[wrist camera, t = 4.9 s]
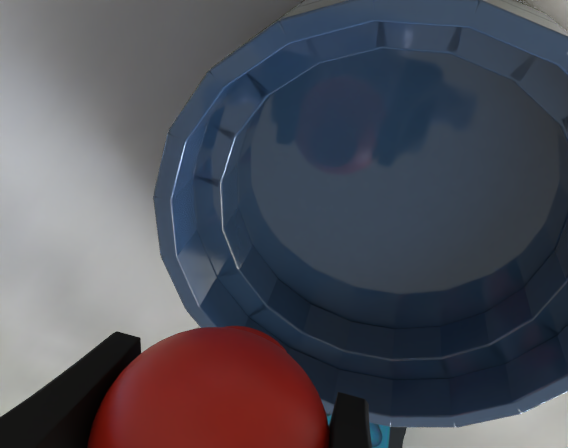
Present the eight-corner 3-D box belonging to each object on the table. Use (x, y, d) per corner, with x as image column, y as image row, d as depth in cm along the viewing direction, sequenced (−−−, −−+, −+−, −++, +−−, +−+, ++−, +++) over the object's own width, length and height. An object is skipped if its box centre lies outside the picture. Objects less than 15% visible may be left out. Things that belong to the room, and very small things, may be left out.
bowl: (139, 199, 21) (84, 254, 17) (381, -148, 13) (366, -169, 10) (397, 395, 23) (392, 477, 20) (731, 195, 15) (814, 273, 12)
